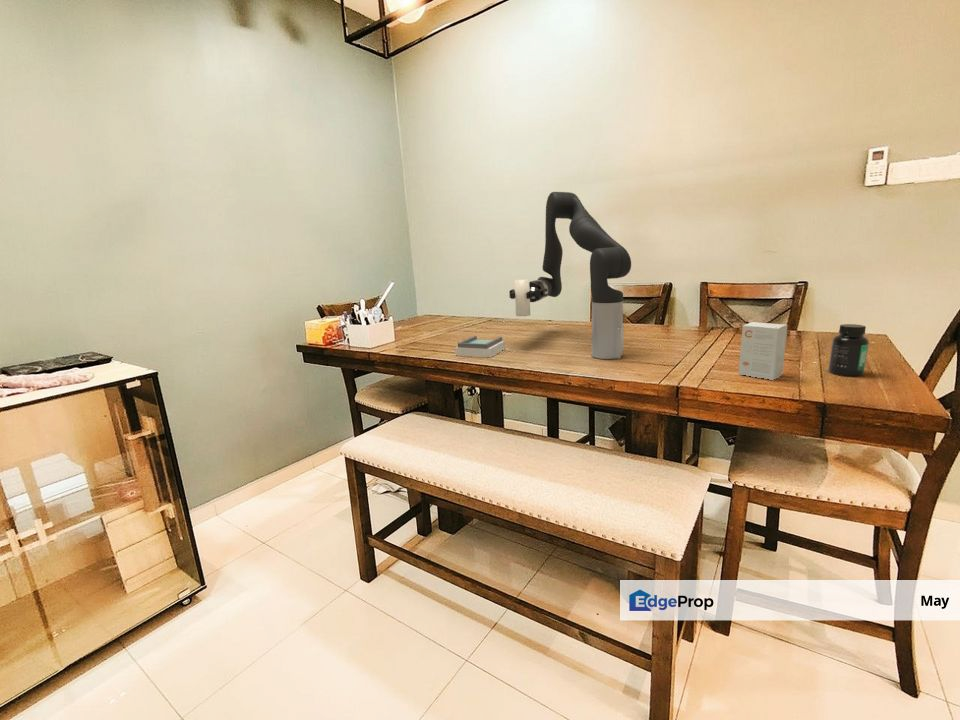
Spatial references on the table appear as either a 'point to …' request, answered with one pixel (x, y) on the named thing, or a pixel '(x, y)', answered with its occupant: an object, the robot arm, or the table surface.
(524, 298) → the canister
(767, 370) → the small box
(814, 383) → the table surface
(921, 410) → the table surface
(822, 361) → the table surface
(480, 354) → the tray
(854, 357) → the supplement bottle
